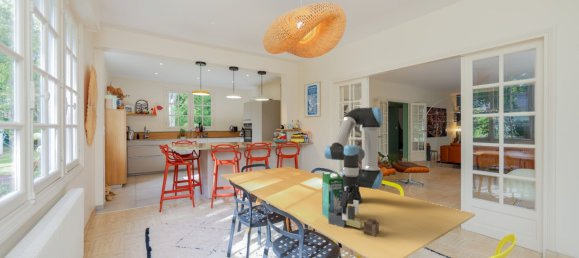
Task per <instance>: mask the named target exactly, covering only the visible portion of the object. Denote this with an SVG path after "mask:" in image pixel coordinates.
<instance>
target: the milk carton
mask: <svg viewBox="0 0 579 258" xmlns="http://www.w3.org/2000/svg"><path fill="white" fill-rule="evenodd" d="M321 178H322V182H321V183H322V188H321V189H322V191H321V192H322V193H321V194H322V200H321V201H322V204H321V205H322V207H321V208H322V210H321V211H322V215H323V216H324V217H325V218H326V219H327V220H328V221H329V212H330V211H331V210H333V209H336V210H340V211H341V212H342V207H341V206H340V202H341V198H342V193H343V178H342V175H340V174H339V173H338V172H337V171H327V172H325V171H324V172H322V177H321Z"/></svg>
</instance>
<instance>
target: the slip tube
mask: <svg viewBox="0 0 579 258" xmlns="http://www.w3.org/2000/svg"><path fill="white" fill-rule="evenodd" d="M347 207H348V221H346V220H345V224H346V225H347V226H350V227H354V228H358V229H361V228H363V227H364V221H363V219H361V218H357V217H355V216H356V215H355V214H356V212H355V206H353V205H349V204H348V205H347ZM338 215H339V216H342V215H341V214H338Z"/></svg>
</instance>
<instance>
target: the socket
mask: <svg viewBox="0 0 579 258" xmlns="http://www.w3.org/2000/svg"><path fill="white" fill-rule="evenodd" d="M378 233H380V221H378V220H377V218H375V217H369V218H368V219H367V220H366V221H365V222H364V221H363V234H365V235H368V236H371V237H376V236H377V234H378Z"/></svg>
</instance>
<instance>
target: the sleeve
mask: <svg viewBox="0 0 579 258" xmlns="http://www.w3.org/2000/svg"><path fill="white" fill-rule="evenodd" d="M338 214H341V215H342V212H341V211H340V210H336V209H333V210H331V211H330V212H329V220H328V224H329V225H334V226H336V227H340V228H345V227H347V226H348V225H346V224H345V220H343V219H342V216H339V215H338Z"/></svg>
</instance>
